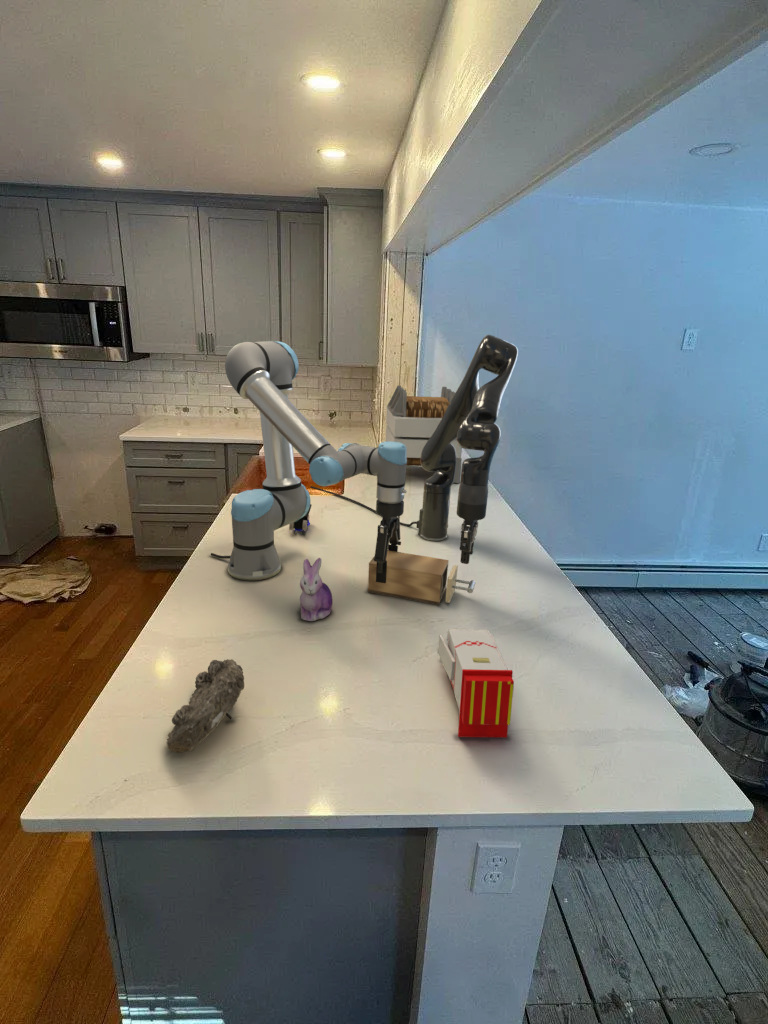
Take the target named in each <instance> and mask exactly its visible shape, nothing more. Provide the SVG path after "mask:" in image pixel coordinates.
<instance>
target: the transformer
mask: <svg viewBox="0 0 768 1024" xmlns="http://www.w3.org/2000/svg"><path fill="white" fill-rule="evenodd" d="M440 393H441V394H440V396H415V395H414V396H413V395H412V396H411V395H407V394H408V393H407V390H406V389H404V388H403V387H402V385H399V384H398V385H397V386H396V388H395V390H394V392H393V394H392V395H391V398H390V400H389V402H388V404H387V405H386V413H385V414H386V415H385V423H386V428H385V438H384V442H387V441H391V442H400V443H402V444H404V445H405V446H406V449H407V462H406V467H407V466H411V467H412V466H413V467H415V466H416V467H417V466H418V467H422V466H421V462H420V457H421V452H422V450H423V448H424V446H425V444H426V443H427V441H428V440H429V439H430V437H431V436H432V434H433V433H434V431H435V430H436V428H437V426H438V425H439V423H440V421H441V419H442V417H443V416H444V414H445V412H446V409H447V407H448V405H449V404H450V402H451V400H452V398H453V396H454V394H455V393H456V391H453V390H452V389H451V388H447V386H442V387H441V392H440ZM451 444H452V445H453V446H454V448H455V451H456V467H455V474H454V481H453V484H455V483H456V484H460V481H461V470H462V463H463V460H462V453H463V448H462V447H461V446H460V445H459V444H458V441H457V438H456V439H455V440H453V441H452V442H451Z"/></svg>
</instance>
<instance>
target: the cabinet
mask: <svg viewBox="0 0 768 1024" xmlns="http://www.w3.org/2000/svg"><path fill="white" fill-rule="evenodd" d="M374 558H375V555H374V556H373V557H372V558H371V560H370V561H369V562H368V578H367V579H368V580H367V593H371V594H374V595H375V594H376V595H382V596H386V597H392V598H397V599H402V600H409V601H414V602H419V603H425V604H431V605H436V606H440V603H441V601H442V598H443V597H444V594H445V593H446V590H447V587H446V588H445V590H444V593H443V595H442V597H441V599H440V591H441V580H442V575H443V573H444V571H445V569H446V567H447V566H448V567H449V560H450V559H443V558H437V557H432V556H426V555H421V554H420V555H419V554H413V553H409V552H408V553H407V552H403V551H402V552H401V551H398V552H396V551H390V550H388V552H387V557H386V561H387V572H386V583H380V582H376V566H377V562H375V561H374V560H373V559H374Z"/></svg>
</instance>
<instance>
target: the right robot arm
mask: <svg viewBox="0 0 768 1024" xmlns="http://www.w3.org/2000/svg"><path fill="white" fill-rule="evenodd" d="M518 355H519V349H518V347H517V346H516V345H515V344H513V343H512V342H509V341H507V340H505V339H502V338H500V337H497V336H495V335H492V334H486V335H485V336H484V337H482V339H481V341H480V342H479V344H478V346H477V348H476V349H475V352H474V354H473V357H472V359H471V361H470V363H469V366H468V367H467V370H466V372H465V374H464V376H463V379H462V380H461V382H460V384H459V386H458V388H457V389H456V391H455V394H454V396H453V398H452V400H451V402H450V404H449V405H448V407H447V409H446V412H445V414H444V416H443V417H442V419H441V421H440V423H439V425H438V426H437V428H436V430H435V431H434V433H433V434H432V436H431V437H430V439H429V440H428V441H427V443H426V444H425V446H424V448H423V450H422V452H421V457H420V462H421V466H420V467H422V469H423V470H424V471H426V472H434V473H433V474H432V475H431V476H429V477H428V478H426V479H425V480H424V482H423V493H422V496H423V497H422V506H421V508H420V509H419V516H418V520H417V521H412V522H411V523H404V522H401V521H400V526H405V527H412V526H413V525H416V528H415V529H418V530H417V535H418V536H420V538H421V539H424V540H426V541H432V542H440V541H444V540H446V539H447V538H448V529H449V517H450V516H449V514H450V504H451V494H452V493H451V491H452V486H453V484H454V483H453V481H454V474H455V467H456V451H455V448H454V446H453V445H452V444H451V442H452V441H453V440H455V439H456V438H457V441H458V444H459V445H460V446H461V447H462V449H464V450H470V451H471V450H472V451H481V452H483V454H482V455H480V456H475V457H469V458H465V459H464V460H462V462H461V474H460V482H459V487H458V494H457V502H456V503H457V506H456V516H457V517H458V518H460V519H462V520H463V522H462V523H461V526H460V538H459V539H460V541H459V542H460V545H459V551H461V552H460V560H459V561H460V564H463V565H468V564H469V563H470V556H471V555H473V553H474V547H475V546H474V544H475V540H476V537H477V534H478V528H479V521H481V520H483V519H485V518H486V516H487V506H488V497H489V478H490V470H491V465H492V462H493V459H494V456H495V454H496V451H497V448H498V446H499V444H500V442H501V439H502V438H501V437H502V431H501V428H500V426H499V425H498V424H497V423H496V422H497V420H498V417H499V412H500V408H501V404H502V403H501V402H502V400H503V396H504V393H505V391H506V388H507V387H508V384H509V382H510V379H511V377H512V374H513V371H514V369H515V366H516V363H517V360H518ZM481 370H483V371H486V372H489V373H491V374H493V375H496V377H494V378H493V379H491V380H490V381H488V382H485V383H484V384H483V385H481V386H479V385H480V383H479V375H480V373H479V372H480V371H481ZM309 488H310V489H313V490H317V491H319V492H324V493H327V494H330V495H334V496H336V497H339V498H342V499H345V500H347V501H350V502H352V503H355V504H357V505H360V506H361V507H363V508H365V509H367V510H369V511H371V512H373V513H375V514H377V513H376V509H374V508H372V507H370V506H368V505H365V504H364V503H361V502H359V501H357V500H354V499H352V498H350V497H347V496H345V495H342V494H339V493H336V492H332V491H329V490H326V489H322V488H319V487H317V486H313V485H310V487H309Z"/></svg>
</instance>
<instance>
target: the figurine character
mask: <svg viewBox="0 0 768 1024" xmlns="http://www.w3.org/2000/svg"><path fill="white" fill-rule="evenodd" d="M312 505H313V504H311V503H310V508H309V510H308V512H307V514H306V515H305V516H304V517H302V518H300V519H299V520H298V521H296V522H293V523H290V524H288V530H289V531H293V532H292V533H293V535H296V534H297V532H301V535H305V532H306V531H308V527H309V526H310V525H311V522H310V511H311V509H312Z"/></svg>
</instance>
